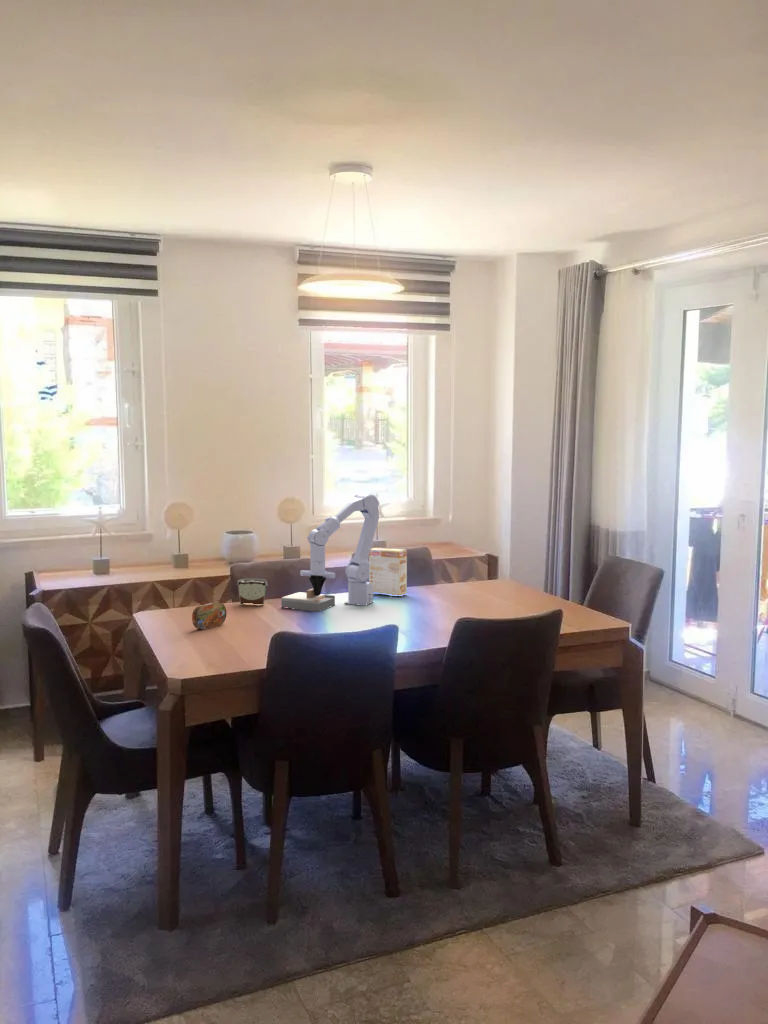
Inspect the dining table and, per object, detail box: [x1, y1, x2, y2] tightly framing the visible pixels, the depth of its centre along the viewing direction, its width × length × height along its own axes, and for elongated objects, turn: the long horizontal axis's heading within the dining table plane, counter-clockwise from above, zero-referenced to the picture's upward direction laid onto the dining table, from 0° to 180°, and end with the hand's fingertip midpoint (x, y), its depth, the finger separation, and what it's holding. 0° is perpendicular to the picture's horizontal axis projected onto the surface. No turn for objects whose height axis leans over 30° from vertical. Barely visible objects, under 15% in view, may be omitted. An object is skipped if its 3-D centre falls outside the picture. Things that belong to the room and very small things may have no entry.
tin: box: [191, 601, 227, 631], centre depth 302 cm, size 15×3×8 cm, turn 148°
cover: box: [281, 587, 326, 601], centre depth 340 cm, size 12×13×4 cm
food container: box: [236, 578, 269, 605], centre depth 343 cm, size 12×6×10 cm, turn 84°
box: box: [281, 594, 336, 612], centre depth 339 cm, size 16×14×4 cm
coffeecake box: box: [368, 547, 408, 595], centre depth 366 cm, size 15×7×20 cm, turn 59°
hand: (317, 595), depth 337 cm, fingers closed
